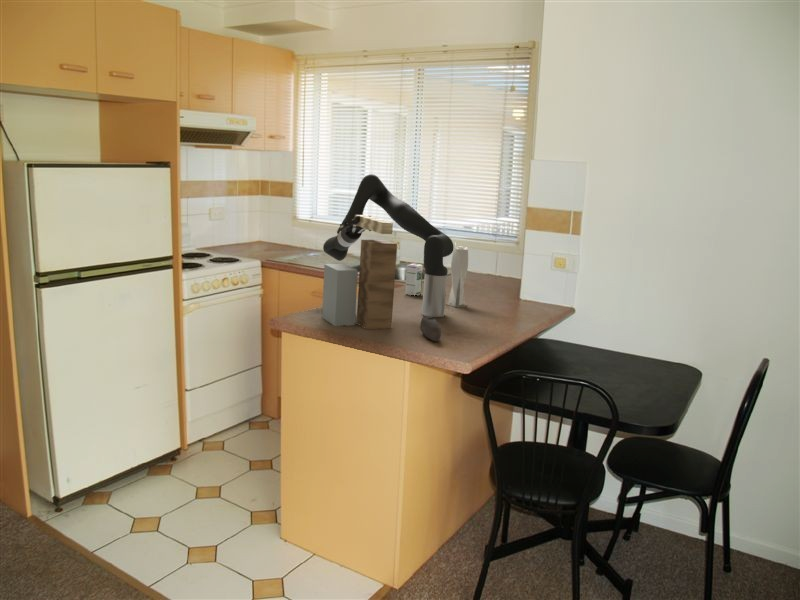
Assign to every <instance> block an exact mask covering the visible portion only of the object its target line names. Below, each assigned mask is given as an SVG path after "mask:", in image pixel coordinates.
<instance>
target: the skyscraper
mask: <svg viewBox="0 0 800 600" xmlns="http://www.w3.org/2000/svg"><path fill="white" fill-rule="evenodd" d="M453 246H454V249H453V252H452V256H451V262H450V263H451V264H450V277H451V287H450V290H449V291H450V292H449V295H448V301H447V303H445V306H447V307H448V306H449V307H454V308H457V309H459V308H463V307H468V304H465V292H464V290H465V289H464V288H465V287H464V283H465V281H466V277H467V276H468V275H467V274H468V269H469V248H468V247H467V246H461V245H459V246H458V245H457V242H456V241H455V242H454V243H453Z"/></svg>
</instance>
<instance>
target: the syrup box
mask: <svg viewBox="0 0 800 600" xmlns="http://www.w3.org/2000/svg"><path fill="white" fill-rule="evenodd" d="M423 268H424V264H419V263H410V264H406V271H405V273H406V275H405V291H404V293H405V294H404V295H406V294H408V295H407V296H411V295H414V296H413V297H416V296H415V295H417V296H421V295H422V290H423V289H422V287H423V285H422V284H423V270H424V269H423ZM420 294H421V295H420Z"/></svg>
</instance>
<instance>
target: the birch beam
mask: <svg viewBox="0 0 800 600" xmlns="http://www.w3.org/2000/svg"><path fill="white" fill-rule="evenodd" d="M357 216H360V222H359V223H358V224H356V226H359V227H362V228H365V229H368V230H367V231H369V230H371V231H370V232H375V233H378V234H380V235H381V234H382V235H393V228H394V222H391V221H387V220H384V219H380V218H376V217H373V216H371V217H369V216H370V215H365V214H362V215H355V217H357Z"/></svg>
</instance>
